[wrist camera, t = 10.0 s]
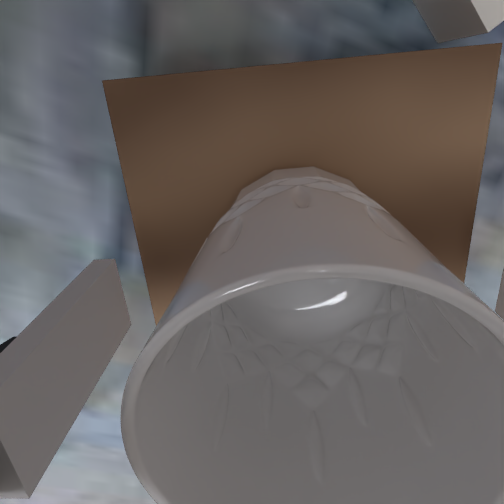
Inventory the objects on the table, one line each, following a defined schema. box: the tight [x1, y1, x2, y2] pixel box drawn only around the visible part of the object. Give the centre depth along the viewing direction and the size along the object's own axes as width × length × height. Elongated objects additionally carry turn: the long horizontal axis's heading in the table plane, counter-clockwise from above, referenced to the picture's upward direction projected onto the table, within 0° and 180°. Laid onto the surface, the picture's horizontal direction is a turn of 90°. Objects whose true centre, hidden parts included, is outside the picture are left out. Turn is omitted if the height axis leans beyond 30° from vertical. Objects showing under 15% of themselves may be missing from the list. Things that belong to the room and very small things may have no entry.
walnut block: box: [102, 43, 502, 326], centre depth 19 cm, size 14×14×6 cm
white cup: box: [121, 166, 504, 504], centre depth 12 cm, size 8×8×10 cm
